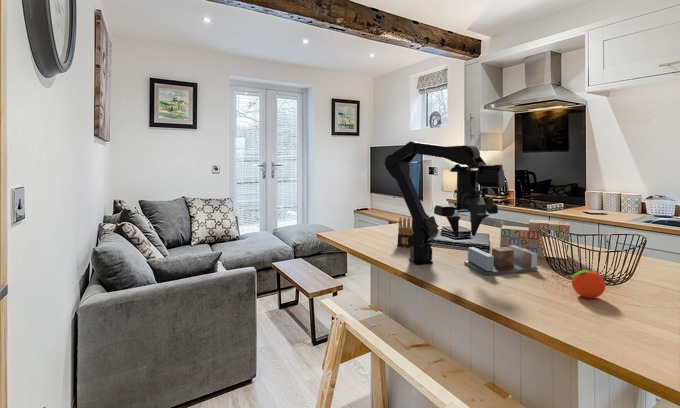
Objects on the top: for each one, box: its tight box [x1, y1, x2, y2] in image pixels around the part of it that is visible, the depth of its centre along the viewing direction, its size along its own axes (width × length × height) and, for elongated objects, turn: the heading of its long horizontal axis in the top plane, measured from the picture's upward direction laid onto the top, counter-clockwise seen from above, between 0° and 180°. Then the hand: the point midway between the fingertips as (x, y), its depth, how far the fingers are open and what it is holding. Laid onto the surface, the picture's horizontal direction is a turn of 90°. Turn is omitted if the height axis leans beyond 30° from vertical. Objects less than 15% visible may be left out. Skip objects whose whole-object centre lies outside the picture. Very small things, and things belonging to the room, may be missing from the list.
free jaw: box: [467, 246, 494, 271], centre depth 111 cm, size 2×11×4 cm, turn 10°
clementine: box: [570, 269, 606, 299], centre depth 88 cm, size 8×7×7 cm
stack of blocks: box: [499, 219, 571, 258], centre depth 126 cm, size 21×6×12 cm, turn 60°
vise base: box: [463, 245, 539, 277], centre depth 112 cm, size 18×12×6 cm, turn 100°
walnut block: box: [491, 246, 514, 266], centre depth 112 cm, size 5×4×5 cm
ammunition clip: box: [396, 216, 414, 248], centre depth 139 cm, size 11×2×12 cm, turn 59°
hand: (465, 236), depth 109 cm, fingers open, 5 cm apart
